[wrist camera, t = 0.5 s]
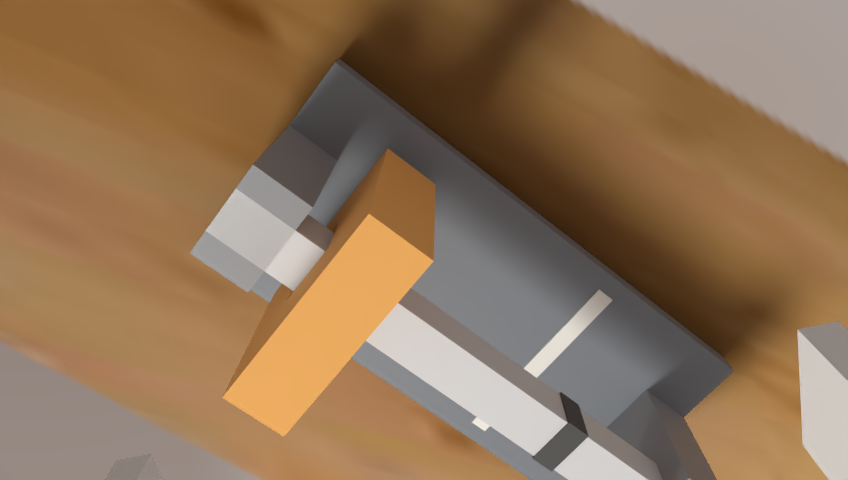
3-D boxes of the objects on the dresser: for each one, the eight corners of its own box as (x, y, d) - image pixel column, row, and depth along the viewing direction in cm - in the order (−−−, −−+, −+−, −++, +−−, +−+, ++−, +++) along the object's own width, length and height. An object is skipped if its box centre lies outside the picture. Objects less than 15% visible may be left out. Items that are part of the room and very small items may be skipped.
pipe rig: (205, 243, 41) (142, 319, 32) (339, 58, 37) (308, 87, 28) (575, 496, 47) (606, 617, 38) (724, 357, 43) (796, 457, 34)
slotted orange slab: (275, 292, 39) (222, 397, 29) (387, 147, 36) (368, 213, 26) (321, 323, 39) (283, 436, 30) (435, 184, 36) (433, 260, 27)
